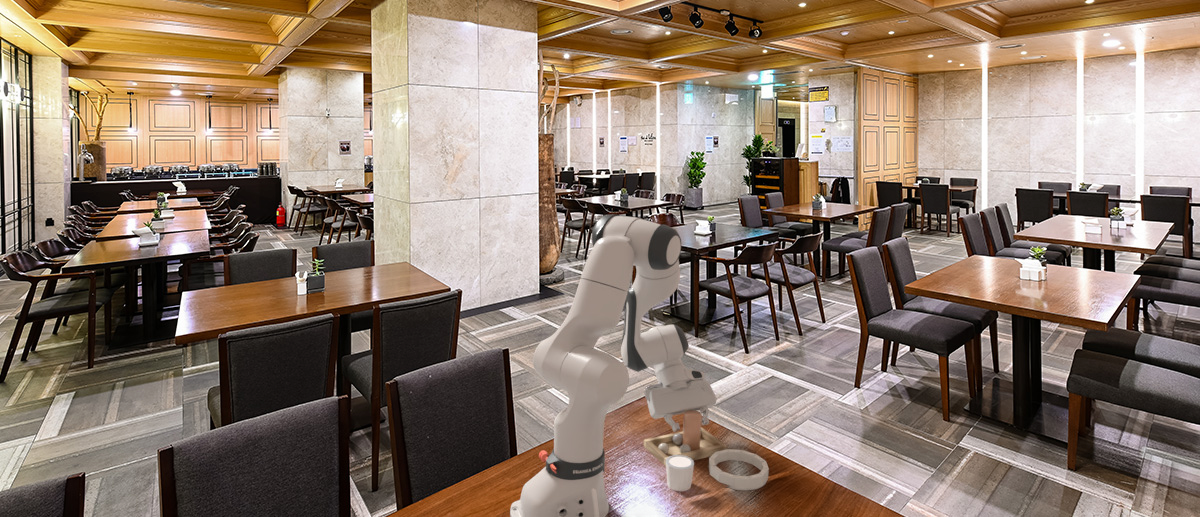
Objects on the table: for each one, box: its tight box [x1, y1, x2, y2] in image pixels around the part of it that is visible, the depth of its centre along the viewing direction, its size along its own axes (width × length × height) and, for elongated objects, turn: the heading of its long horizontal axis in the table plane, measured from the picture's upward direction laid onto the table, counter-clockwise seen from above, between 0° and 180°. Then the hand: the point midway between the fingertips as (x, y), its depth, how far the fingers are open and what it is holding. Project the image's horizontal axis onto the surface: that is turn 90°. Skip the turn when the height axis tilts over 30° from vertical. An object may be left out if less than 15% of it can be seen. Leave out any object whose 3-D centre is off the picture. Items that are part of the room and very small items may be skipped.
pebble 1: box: [658, 443, 669, 454], centre depth 164 cm, size 3×3×3 cm
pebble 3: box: [680, 444, 691, 454], centre depth 164 cm, size 3×3×3 cm
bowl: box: [708, 448, 770, 492], centre depth 156 cm, size 14×14×3 cm
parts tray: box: [643, 426, 728, 467], centre depth 167 cm, size 19×12×3 cm, turn 115°
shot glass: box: [665, 455, 695, 492], centre depth 149 cm, size 7×7×7 cm
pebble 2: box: [673, 434, 683, 445], centre depth 170 cm, size 3×3×3 cm
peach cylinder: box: [682, 410, 703, 451], centre depth 167 cm, size 5×5×10 cm
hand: (691, 427), depth 167 cm, fingers open, 8 cm apart
